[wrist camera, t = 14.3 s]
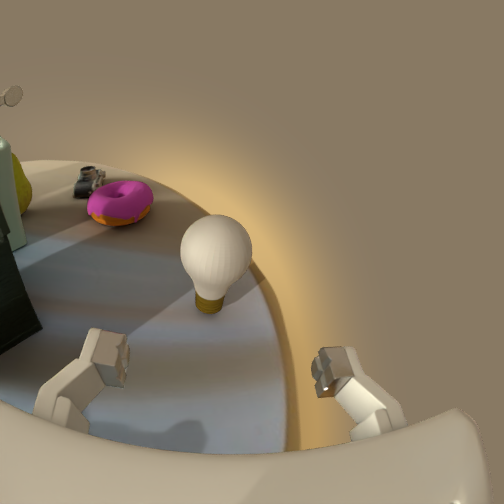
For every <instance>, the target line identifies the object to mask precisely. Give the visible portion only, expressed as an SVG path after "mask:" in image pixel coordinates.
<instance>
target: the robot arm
mask: <svg viewBox="0 0 504 504" xmlns="http://www.w3.org/2000/svg"><path fill="white" fill-rule="evenodd" d="M126 342H127V336H126V334H123V333H117V332H112V331H107V330H103V329H97V328H91V329H90V330H89V332H88V335H87V338H86V340H85V343H84V346H83V349H82V352H81V354H80V357H79V359H75V360H73V361H72V362H71V363H70V364H68V365H67V366H66V367H65V368H63V369H62V370H61V371H60V372H59V373H57V374H56V375H55V376H54V377H52V378H51V379H50V380H49V381H48V382H46V383H45V384H44V385H43V386H41V387H40V389H39V392H38V395H37V398H36V402H35V405H34V408H33V412H32V414H29V413H27V412H25V411H23V410H20V409H18V408H16V407H14V406H12V405H10V404H8V403H6V402H4V401H2V400H0V504H493V489H492V481H491V474H490V468H489V463H488V459H487V455H486V451H485V447H484V443H483V440H482V437H481V434H480V431H479V428H478V426H477V424H476V422H475V421H474V419H472V418H471V417H470V416H469V415H468V414H466V413H465V412H464V411H463V410H461V409H459V408H454V409H451V410H449V411H446V412H444V413H442V414H439V415H437V416H434V417H432V418H429V419H427V420H424V421H421V422H419V423H416V424H413V425H410V426H408V424H407V421H406V418H405V415H404V413H403V410H402V407H401V405H400V403H399V402H398V401H396V400H395V399H394V398H393V397H392V396H391V395H390V394H388V393H387V392H386V391H385V390H384V389H383V388H382V387H380V386H379V385H378V384H377V383H376V382H375V381H373V380H372V379H371V378H370V377H369V376H368V375H365V374H364V372H363V369H362V366H361V364H360V361H359V358H358V356H357V353H356V351H355V349H354V347H352V346H348V347H323V348H321V349H320V350H319V352H318V353H319V356H317V357H315V358H314V360H313V362H312V366H311V371H312V376H313V378H314V379H315V380H316V381H317V382H316V384H315V389H316V393H317V397H318V398H323V397H334V398H335V399H336V400H337V401H338V403H339V404H340V405H341V406H342V407H343V408H344V410H345V411H346V412H347V413H348V414H349V415H350V416H351V418H352V419H353V420H354V421H355V422H356V423H357V424H358V425H356V426H355V427H354V428H352V429H351V430H350V432H349V434H350V438H351V442H348V443H344V444H338V445H333V446H327V447H322V448H315V449H308V450H300V451H291V452H280V453H266V454H202V453H188V452H177V451H168V450H160V449H153V448H147V447H141V446H135V445H130V444H125V443H120V442H116V441H111V440H107V439H103V438H99V437H95V436H92V435H88V432H89V426H90V423H89V421H88V420H87V419H86V418H85V417H84V416H83V414H82V413H81V412H82V411H83V410H84V409H85V408H86V407H87V406H88V405H89V403H90V402H91V401H92V400H93V399H94V398H95V397H96V396H97V395H98V394H99V393H100V391H101V390H102V389H103V388H104V387H105V385H107V386H112V387H118V388H124V384H125V380H126V372H125V369H126V368H127V367H128V365H129V360H130V348H129V345H128V344H127V343H126Z"/></svg>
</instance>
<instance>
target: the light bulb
mask: <svg viewBox="0 0 504 504" xmlns="http://www.w3.org/2000/svg"><path fill="white" fill-rule="evenodd" d="M180 255H181V260H182V264H183V266H184V268H185V270H186V272H187V273H188V274H189V275H190V277H191V278H192V280H193V282H194V288H195V290H196V291H195V292H196V294H195V296H196V297H195V304H196V307H197V308H198V309H199V310H200V311H201V312H203V313H207V314H214V313H217V312H219V311H220V310H221V308H222V305H223V301H224V297H225V294H226V293H227V291H228V289H229V287H230V286H231V285H232V284H233V283H234V282H236V281H237V280H238V279H240V278H241V277H242V276H243V275H244V273H245V272H246V271H247V269H248V267H249V265H250V262H251V257H252V244H251V240H250V237H249V235H248V233H247V232H246V230H245V229H244V227H243V226H242V225H241V224H240V223H238V222H237V221H236V220H234V219H232V218H230V217H227V216H224V215H209V216H205V217H203V218H200V219H198V220H197V221H195V222H194V223H193V224H192V225H191V226H190V227H189V228H188V229H187V231H186V232H185V234H184V236H183V239H182V242H181V247H180Z"/></svg>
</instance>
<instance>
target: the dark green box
mask: <svg viewBox="0 0 504 504" xmlns="http://www.w3.org/2000/svg"><path fill="white" fill-rule="evenodd" d="M41 329H43V328H42V326H41V324H40V321H39V319H38V317H37V315H36V313H35V311H34V308H33V306H32V304H31V301H30V299H29V297H28V294H27V292H26V289H25V287H24V284H23V282H22V279H21V276H20V273H19V271H18V268H17V265H16V262H15V259H14V255H13V252H12V249H11V246H10V242H9V239H8V236H7V235H6V236H3V234H2V231H1V229H0V355H1V354H2V353H4V352H5V351H7V350H9V349H10V348H12V347H13V346H15V345H17V344H18V343H20V342H21V341H23V340H25V339H26V338H28V337H30V336H31V335H33V334H34V333H36V332H38V331H39V330H41Z"/></svg>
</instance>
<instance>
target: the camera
mask: <svg viewBox="0 0 504 504" xmlns="http://www.w3.org/2000/svg"><path fill="white" fill-rule="evenodd" d="M105 176H106V174H105V171H104V172H102V170H101V169H100V170H95V166H94V167H93V166H87V167H83V168H81V170H80V175H79V176H78V181H77V182H76V183H75V184H74V187H73V188H74V190H73V197H74V198H76V197H88V196H90V195H91V194H92V193H93V192H94V191H95V190H97V189H98V188H100V187H102V185H103V178H105Z"/></svg>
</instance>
